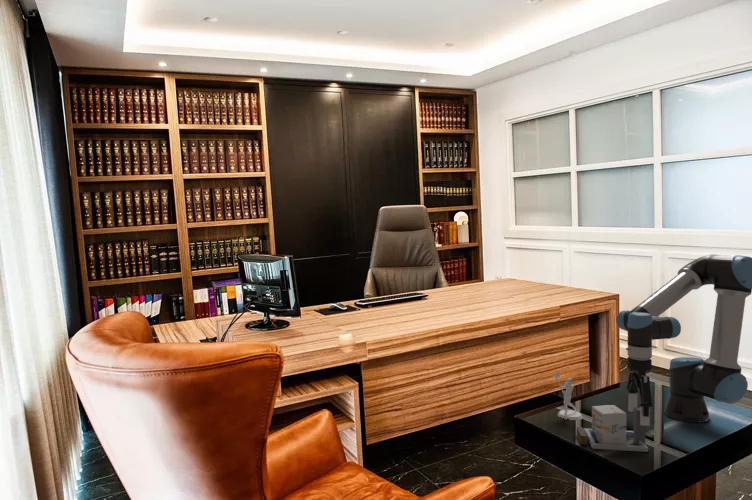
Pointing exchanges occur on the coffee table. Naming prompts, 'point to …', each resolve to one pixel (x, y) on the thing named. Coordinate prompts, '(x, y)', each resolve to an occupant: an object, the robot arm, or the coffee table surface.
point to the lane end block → (581, 435)
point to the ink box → (609, 425)
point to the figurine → (568, 401)
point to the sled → (637, 435)
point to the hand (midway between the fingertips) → (638, 418)
